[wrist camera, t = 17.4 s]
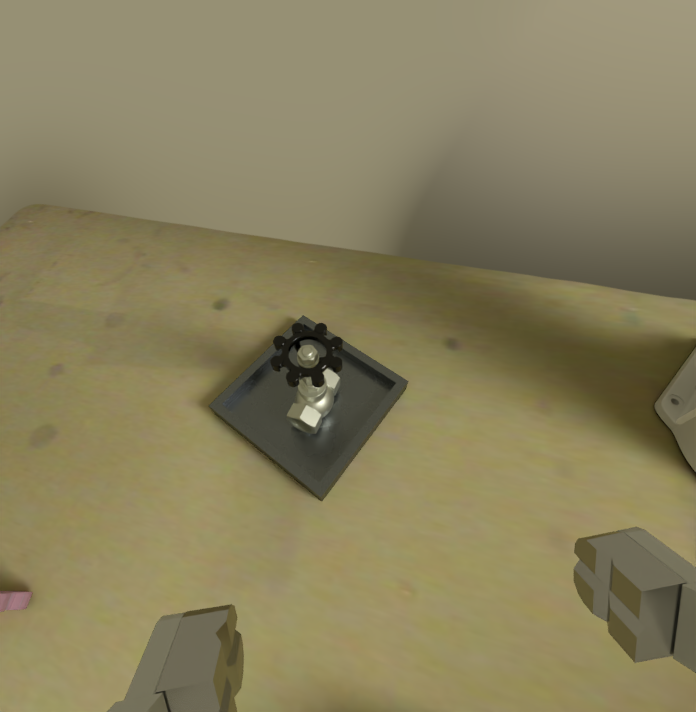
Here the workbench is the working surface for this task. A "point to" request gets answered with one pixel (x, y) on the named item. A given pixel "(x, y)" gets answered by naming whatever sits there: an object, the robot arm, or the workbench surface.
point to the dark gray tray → (338, 428)
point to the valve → (309, 375)
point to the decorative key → (14, 600)
